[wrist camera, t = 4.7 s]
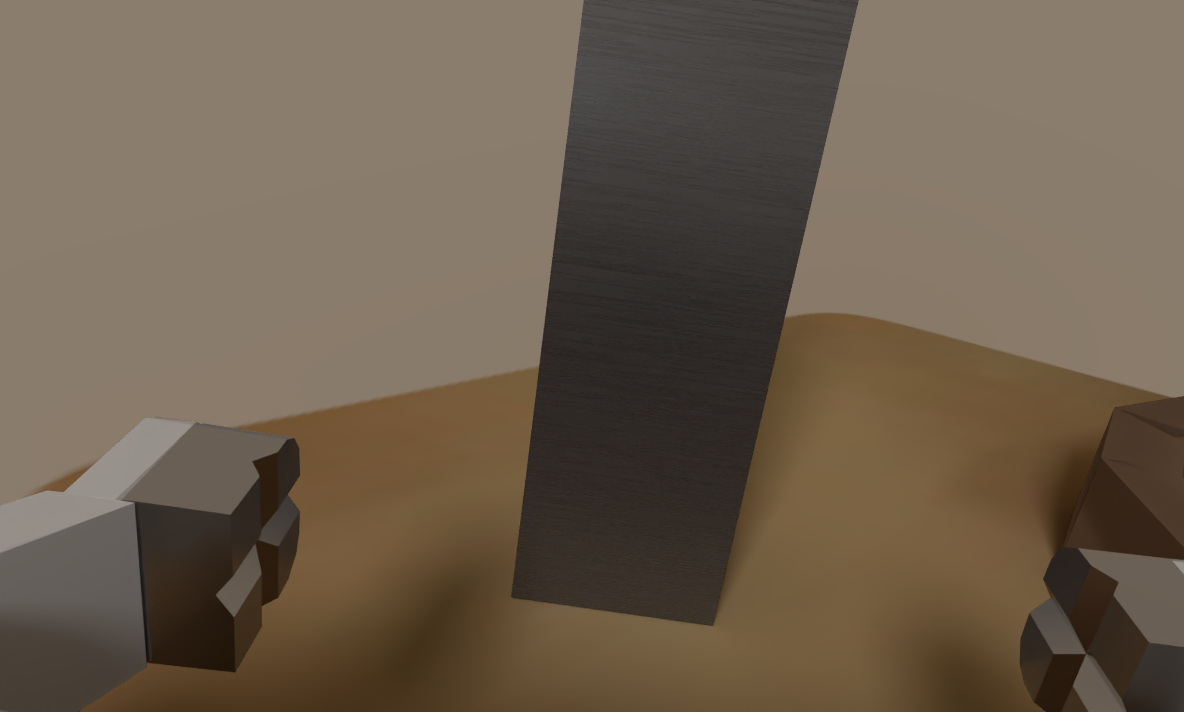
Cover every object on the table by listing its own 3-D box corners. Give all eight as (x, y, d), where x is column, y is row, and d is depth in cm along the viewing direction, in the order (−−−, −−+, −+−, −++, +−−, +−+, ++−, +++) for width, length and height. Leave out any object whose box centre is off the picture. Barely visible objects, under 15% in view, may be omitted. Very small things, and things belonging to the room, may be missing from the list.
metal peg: (700, 513, 22) (817, -33, 17) (713, 625, 18) (865, -31, 13) (533, 489, 22) (603, -64, 17) (511, 597, 18) (592, -71, 13)
